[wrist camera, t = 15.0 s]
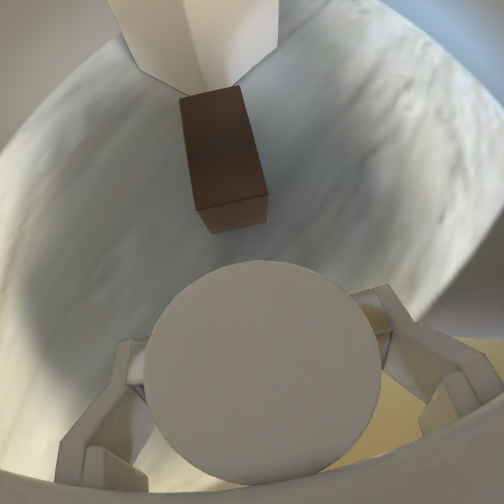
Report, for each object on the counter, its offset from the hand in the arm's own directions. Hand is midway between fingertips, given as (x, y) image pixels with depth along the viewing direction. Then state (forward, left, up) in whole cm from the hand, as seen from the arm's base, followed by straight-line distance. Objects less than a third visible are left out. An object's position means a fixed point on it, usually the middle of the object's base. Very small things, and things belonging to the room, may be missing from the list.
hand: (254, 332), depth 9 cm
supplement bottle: (0, +1, -5) cm, 5 cm away
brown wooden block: (+4, -7, -7) cm, 11 cm away
